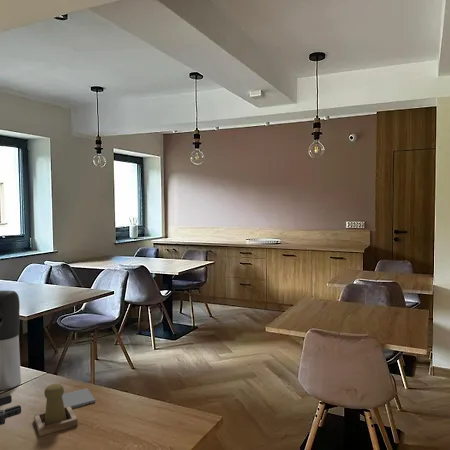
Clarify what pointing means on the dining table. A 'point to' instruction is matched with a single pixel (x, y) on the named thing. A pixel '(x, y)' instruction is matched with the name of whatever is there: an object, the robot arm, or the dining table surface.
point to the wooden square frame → (56, 426)
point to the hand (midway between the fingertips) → (15, 403)
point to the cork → (54, 404)
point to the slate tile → (78, 398)
